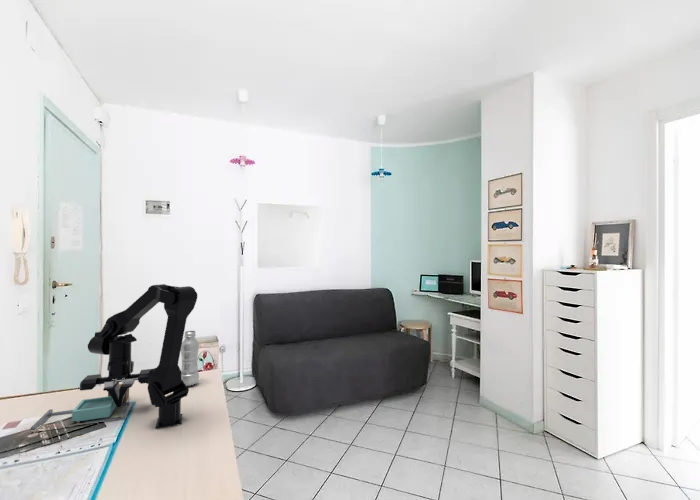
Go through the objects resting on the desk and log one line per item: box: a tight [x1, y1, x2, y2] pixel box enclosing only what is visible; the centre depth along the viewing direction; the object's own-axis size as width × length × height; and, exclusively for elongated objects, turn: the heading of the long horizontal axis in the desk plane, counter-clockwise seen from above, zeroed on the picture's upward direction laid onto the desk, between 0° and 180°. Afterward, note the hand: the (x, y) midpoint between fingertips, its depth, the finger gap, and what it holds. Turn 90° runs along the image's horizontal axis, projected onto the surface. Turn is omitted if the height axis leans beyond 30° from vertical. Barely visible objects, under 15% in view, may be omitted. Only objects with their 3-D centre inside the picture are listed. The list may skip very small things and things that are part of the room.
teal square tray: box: [71, 395, 117, 422], centre depth 103 cm, size 9×9×4 cm
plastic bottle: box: [180, 330, 200, 387], centre depth 129 cm, size 6×7×20 cm
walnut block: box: [107, 383, 130, 403], centre depth 114 cm, size 5×5×5 cm
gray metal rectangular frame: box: [30, 401, 134, 431], centre depth 102 cm, size 12×22×2 cm, turn 113°
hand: (119, 407), depth 106 cm, fingers closed
